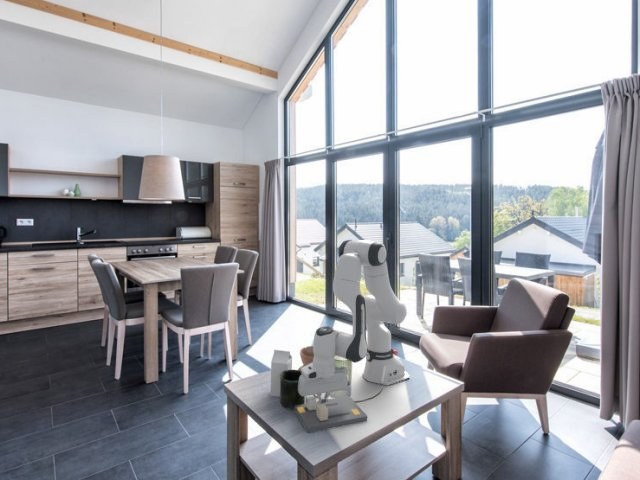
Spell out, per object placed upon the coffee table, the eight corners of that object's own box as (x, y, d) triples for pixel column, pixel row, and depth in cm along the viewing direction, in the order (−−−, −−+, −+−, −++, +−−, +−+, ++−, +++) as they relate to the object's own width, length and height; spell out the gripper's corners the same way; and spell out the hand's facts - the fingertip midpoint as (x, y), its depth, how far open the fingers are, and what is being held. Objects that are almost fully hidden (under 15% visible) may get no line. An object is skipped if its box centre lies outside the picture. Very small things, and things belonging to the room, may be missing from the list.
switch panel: (348, 400, 158) (349, 395, 158) (367, 421, 143) (367, 415, 143) (294, 410, 149) (294, 405, 149) (307, 433, 134) (308, 427, 134)
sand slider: (323, 413, 143) (324, 403, 142) (327, 419, 139) (328, 409, 139) (316, 415, 142) (316, 405, 141) (320, 420, 138) (320, 410, 138)
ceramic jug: (288, 377, 178) (289, 348, 176) (312, 369, 187) (313, 341, 186) (313, 393, 164) (314, 362, 163) (337, 383, 174) (338, 353, 172)
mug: (285, 413, 147) (285, 383, 146) (272, 396, 160) (272, 368, 159) (310, 407, 152) (311, 378, 151) (295, 391, 165) (296, 364, 164)
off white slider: (312, 404, 150) (312, 394, 149) (316, 409, 146) (316, 399, 146) (305, 405, 149) (305, 395, 148) (308, 410, 145) (309, 400, 145)
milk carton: (286, 398, 158) (287, 354, 157) (270, 396, 160) (271, 352, 158) (291, 390, 165) (292, 348, 164) (275, 388, 167) (276, 346, 165)
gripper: (344, 362, 155) (343, 394, 156) (296, 368, 147) (296, 402, 149) (351, 368, 149) (349, 402, 150) (302, 375, 141) (301, 410, 143)
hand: (322, 402), depth 149 cm, fingers closed
